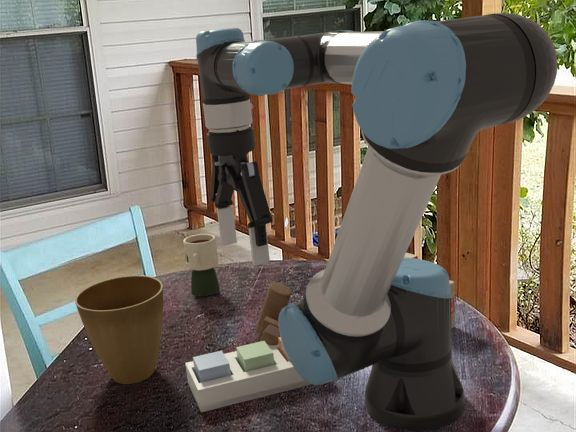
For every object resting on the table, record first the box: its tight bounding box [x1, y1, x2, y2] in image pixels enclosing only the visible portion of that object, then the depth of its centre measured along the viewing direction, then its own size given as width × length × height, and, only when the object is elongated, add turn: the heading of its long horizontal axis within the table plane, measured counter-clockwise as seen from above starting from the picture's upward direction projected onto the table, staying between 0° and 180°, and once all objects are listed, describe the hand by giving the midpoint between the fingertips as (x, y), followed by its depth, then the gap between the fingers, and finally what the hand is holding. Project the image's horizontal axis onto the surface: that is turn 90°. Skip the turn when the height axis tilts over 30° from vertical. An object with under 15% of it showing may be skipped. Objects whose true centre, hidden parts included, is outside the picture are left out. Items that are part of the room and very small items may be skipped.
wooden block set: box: [255, 282, 292, 345], centre depth 137 cm, size 18×9×10 cm, turn 160°
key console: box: [185, 343, 312, 413], centre depth 124 cm, size 10×22×4 cm, turn 109°
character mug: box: [182, 233, 221, 297], centre depth 163 cm, size 11×7×13 cm, turn 174°
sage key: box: [235, 341, 274, 372], centre depth 124 cm, size 5×5×4 cm
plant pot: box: [74, 274, 164, 385], centre depth 129 cm, size 15×15×16 cm
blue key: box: [192, 350, 231, 383], centre depth 122 cm, size 5×5×4 cm
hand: (244, 253), depth 124 cm, fingers open, 13 cm apart
